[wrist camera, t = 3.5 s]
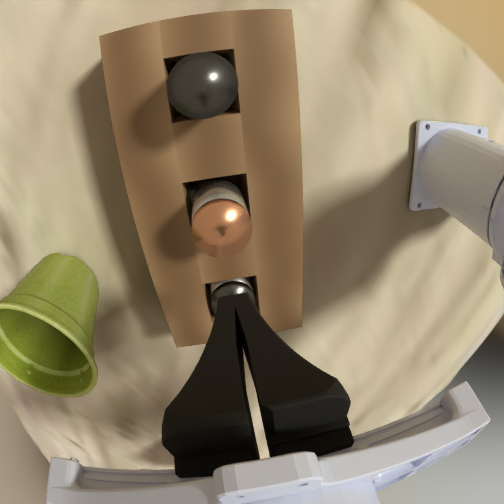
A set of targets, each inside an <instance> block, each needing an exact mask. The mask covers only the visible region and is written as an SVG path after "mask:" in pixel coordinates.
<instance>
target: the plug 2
mask: <svg viewBox="0 0 504 504" xmlns="http://www.w3.org/2000/svg"><path fill="white" fill-rule="evenodd" d="M210 292H211V304H212V309H213V311H214V312H215V314H216V310H217V303H218V298H219V297H223V296H229V295H234V294H240V293H248V294H249V296H250V298H251V300H252V302H253V304H254V305H255V297H254V293H253V289H252V286H251V282H250V278H249V277H243V278H237V279H231V280H225V281H218V282H212V283H210Z"/></svg>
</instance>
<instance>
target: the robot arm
mask: <svg viewBox="0 0 504 504" xmlns="http://www.w3.org/2000/svg"><path fill="white" fill-rule="evenodd" d="M426 124H427V128H426ZM418 204H419V205H418ZM417 205H418V206H417ZM409 208H410V209H411V210H412V211H417V210H425V209H433V208H442V209H443V210H445V211H446V212H447V213H449V214H450V215H452V216H453V217H454V218H456V219H457V220H458V221H460V222H461V223H462V224H464V225H465V226H466V227H467V228H469V229H470V230H471V231H473V232H474V233H475V234H476V235H478V236H479V237H480V238H481V239H483V240H484V241H485V242H486V243H487V244H489V245H490V246H491V247H492V248H493V255H492V259H493V260H495V261H496V262H497V263H498V264H499V265H500V266H501V270H500V280H501V283H502V286H503V288H504V145H502V144H500V143H498V142H495V141H493V140H491V139H488V129H487V128H486V127H483V126H476V125H469V124H461V123H452V122H441V121H430V120H419V121H418V122H417V124H416V138H415V153H414V165H413V175H412V184H411V192H410V200H409ZM242 345H243V347H242ZM243 349H244V352H245V356H246V359H247V362H248V365H249V369H250V372H251V375H252V378H253V382H254V385H255V389H256V393H257V398H258V403H259V407H260V412H261V417H262V422H263V426H264V431H265V436H266V440H267V445H268V450H269V454H270V458H265V459H260V456H259V451H258V447H257V442H256V437H255V432H254V427H253V422H252V417H251V412H250V407H249V402H248V397H247V391H246V383H245V371H244V359H243ZM350 402H351V401H350V398H349V396H348V394H347V392H346V391H345V389H344V387H343V386H342V385H341V383H340V382H339V381H338V379H337V378H335V377H333V376H331V375H329V374H327V373H326V372H324V371H322V370H320V369H319V368H317V367H316V366H314V365H312V364H311V363H310V362H308V361H307V360H305V359H304V358H303V357H301V356H300V355H299V354H297V353H296V352H295V351H294V350H293V349H291V348H290V347H289V346H288V345H287V344H286V343H285V342H284V341H283V340H282V339H281V338H280V337H279V336H278V335H277V334H276V333H275V332H274V331H273V330H272V328H271V327H270V326H269V325H268V324H267V322H266V321H265V320H264V318H263V317H262V316H261V314H260V313H259V312H258V310H257V308H256V307H255V305H254V304H253V302H252V300H251V298H250V296H249V294H248V293H240V294H234V295H229V296H223V297H219V298H218V303H217V310H216V315H215V319H214V323H213V326H212V330H211V333H210V336H209V338H208V341H207V344H206V346H205V349H204V351H203V353H202V356H201V358H200V360H199V362H198V364H197V365H196V367H195V369H194V371H193V373H192V374H191V376H190V378H189V379H188V381H187V382H186V384H185V385H184V387H183V388H182V389H181V391H180V392H179V394H178V395H177V396H176V397H175V399H174V400H173V401H172V402H171V403H170V405H169V406H168V407H167V408H166V410H165V413H164V417H163V423H162V444H163V446H164V447H165V448H166V449H167V450H168V451H169V452H170V453H171V454H172V455H173V456H174V462H175V469H169V470H123V469H104V468H91V467H83V466H82V465H81V464H80V463H78V462H76V461H74V460H70V459H64V458H56V457H51V461H50V469H49V476H48V485H47V495H46V503H47V504H380V502H379V499H378V496H377V493H376V492H377V491H379V490H381V489H384V488H386V487H388V486H390V485H392V484H395V483H397V482H399V481H401V480H403V479H405V478H407V477H409V476H411V475H413V474H415V473H417V472H419V471H420V470H422V469H424V468H426V467H428V466H430V465H431V464H433V463H435V462H437V461H438V460H440V459H442V458H444V457H445V456H447V455H449V454H450V453H452V452H454V451H456V450H457V449H459V448H461V447H462V446H464V445H465V444H467V443H468V442H469V441H470V440H471V439H472V438H473V437H474V436H475V435H476V434H478V433H479V432H480V431H481V430H482V429H483V428H484V427H485V426H486V425H487V424H488V423H489V422H490V418H489V416H488V415H487V413H486V411H485V410H484V408H483V406H482V405H481V403H480V401H479V400H478V398H477V397H476V395H475V393H474V392H473V390H472V389H471V387H470V386H469V384H468V383H467V382H464V383H461V384H460V385H458V386H456V387H454V388H452V389H450V390H449V391H447V392H446V393H445V394H444V395H443V396H442V398H441V399H440V401H439V402H437V403H435V404H433V405H431V406H429V407H427V408H425V409H422V410H420V411H418V412H416V413H413V414H411V415H409V416H406V417H404V418H402V419H399V420H397V421H394V422H392V423H389V424H387V425H384V426H382V427H379V428H376V429H373V430H371V431H368V432H365V433H362V434H359V435H356V436H352V434H351V431H350V428H349V425H350V423H349V420H348V418H347V414H348V411H349V407H350Z"/></svg>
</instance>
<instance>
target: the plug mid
mask: <svg viewBox="0 0 504 504" xmlns="http://www.w3.org/2000/svg"><path fill="white" fill-rule="evenodd" d="M252 232H253V226H252V222H251V219H250V216H249V213H248V211H247V208H246V205H245V202H244V200H243V197H242V194H241V192H240V190H239V189H238V188H237V186H235V185H234V184H233V183H231V182H229V181H226V180H222V179H215V180H210V181H208V182H206V183H204V184H202V185H201V186H200V187H199V188H198V189H197V191H196V192H195V194H194V196H193V201H192V231H191V233H192V238H193V241H194V243H195V245H196V246H197V247H198V249H199V250H201V251H202V252H203V253H205V254H207V255H209V256H212V257H218V258H223V257H229V256H233V255H235V254H237V253H239V252H240V251H242V250H243V249H244V248H245V247H246V246H247V245H248V243H249V241H250V239H251V237H252Z"/></svg>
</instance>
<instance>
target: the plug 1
mask: <svg viewBox="0 0 504 504" xmlns="http://www.w3.org/2000/svg"><path fill="white" fill-rule="evenodd" d="M237 91H238V77H237V74H236V71H235V69H234V68H233V66H232V65H231V64H230V62H229V61H227V60H226V59H225V58H223V57H222V56H220V55H217V54H214V53H210V52H198V53H194V54H191V55H188V56H186V57H184V58H183V59H181V60H180V61H179V62H178V63H177V64H176V65H175V66H174V67H173V68H172V70H171V72H170V74H169V76H168V80H167V95H168V98H169V100H170V102H171V104H172V105H173V107H174V108H175V109H176V110H177V111H178V112H180V113H181V114H183V115H185V116H187V117H190V118H194V119H208V118H212V117H215V116H217V115H219V114H221V113H223V112H224V111H225V110H227V109H228V108H229V107H230V105H231V104H232V103H233V101H234V99H235V97H236V95H237Z"/></svg>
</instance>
